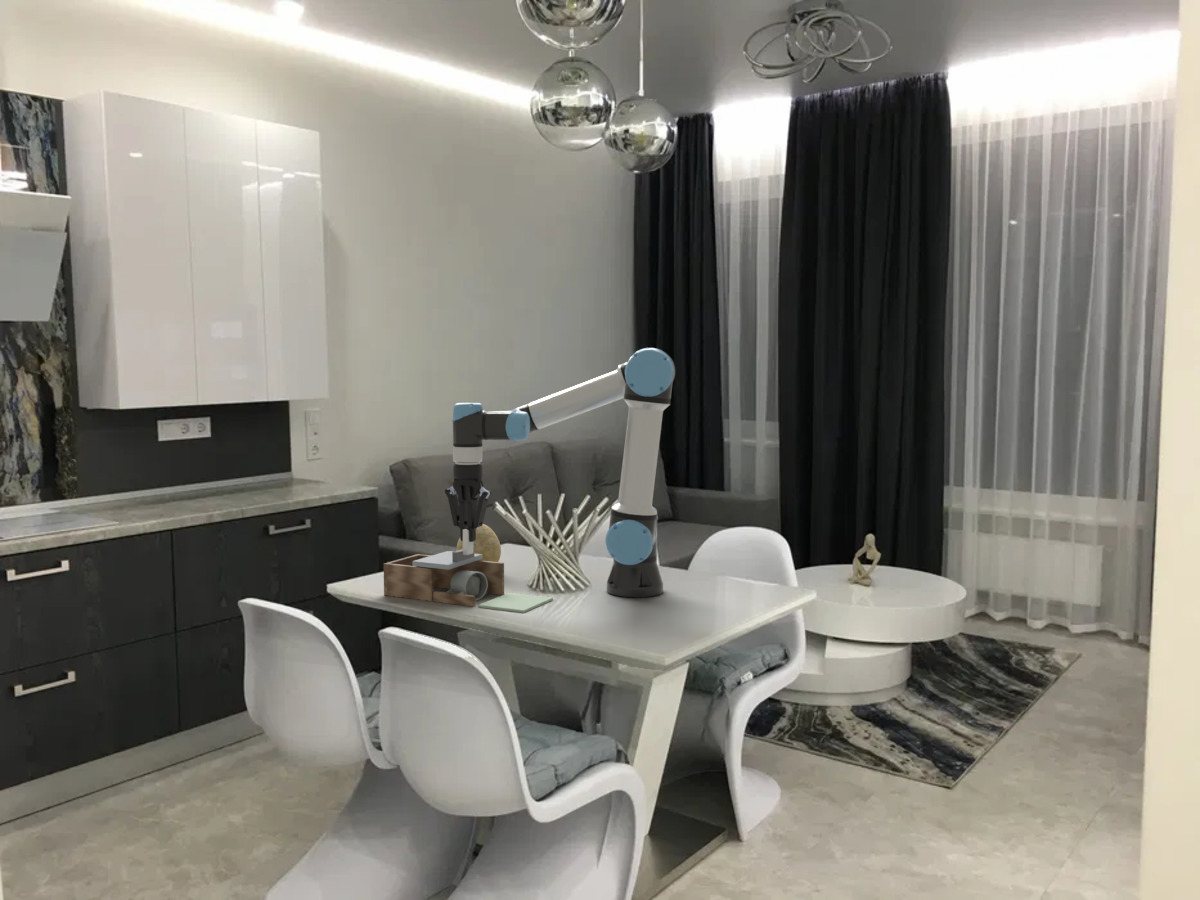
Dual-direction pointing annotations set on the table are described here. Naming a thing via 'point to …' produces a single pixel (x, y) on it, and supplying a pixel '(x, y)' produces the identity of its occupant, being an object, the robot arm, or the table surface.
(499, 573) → the walnut well board
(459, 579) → the ceramic mug
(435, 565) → the sliding cover
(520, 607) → the sage mat
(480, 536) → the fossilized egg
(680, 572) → the table surface
